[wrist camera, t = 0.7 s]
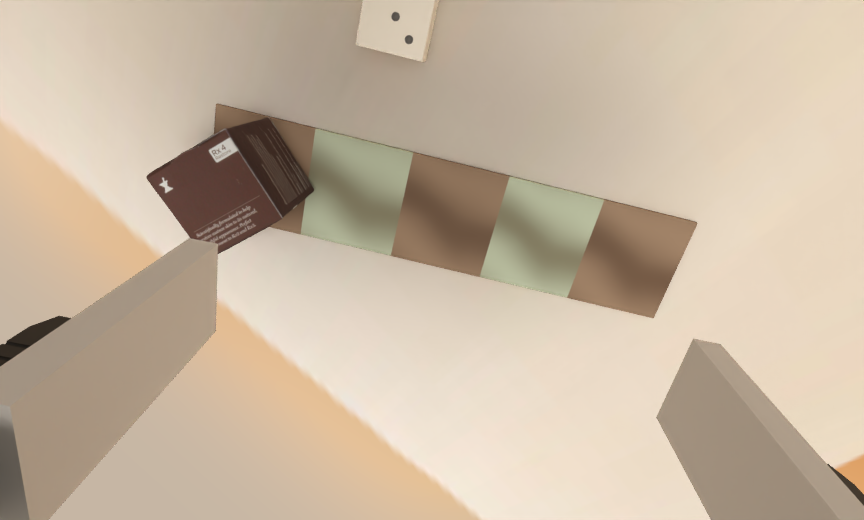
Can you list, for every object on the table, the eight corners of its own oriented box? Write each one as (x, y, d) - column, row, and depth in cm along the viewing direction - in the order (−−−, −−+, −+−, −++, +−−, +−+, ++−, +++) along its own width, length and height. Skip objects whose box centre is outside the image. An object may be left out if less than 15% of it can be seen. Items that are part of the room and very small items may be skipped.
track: (218, 103, 35) (215, 104, 34) (695, 221, 36) (697, 223, 36) (210, 211, 38) (208, 212, 37) (652, 316, 39) (653, 318, 39)
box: (250, 225, 38) (204, 262, 31) (201, 154, 36) (141, 176, 29) (317, 189, 36) (284, 220, 29) (270, 113, 34) (224, 127, 28)
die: (378, -21, 31) (367, -32, 28) (440, -5, 32) (437, -14, 28) (367, 46, 33) (355, 44, 29) (425, 61, 33) (421, 61, 29)
